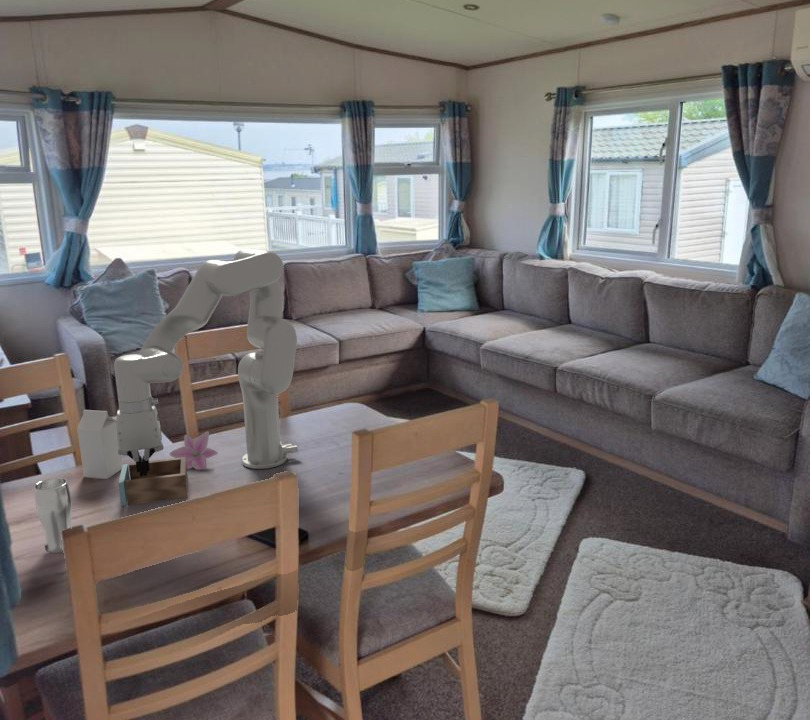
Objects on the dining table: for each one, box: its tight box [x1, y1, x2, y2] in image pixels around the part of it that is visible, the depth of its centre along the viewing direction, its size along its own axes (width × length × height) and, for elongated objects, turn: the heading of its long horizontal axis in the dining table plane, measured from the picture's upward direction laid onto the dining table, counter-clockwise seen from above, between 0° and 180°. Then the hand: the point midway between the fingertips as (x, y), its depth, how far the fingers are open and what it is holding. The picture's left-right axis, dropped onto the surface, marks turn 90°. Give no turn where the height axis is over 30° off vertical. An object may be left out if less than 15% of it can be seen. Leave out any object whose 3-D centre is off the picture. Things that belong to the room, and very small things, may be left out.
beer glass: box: [33, 477, 73, 554], centre depth 151 cm, size 7×7×15 cm
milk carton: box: [76, 409, 123, 480], centre depth 186 cm, size 7×7×19 cm
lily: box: [169, 430, 218, 470], centre depth 192 cm, size 12×12×10 cm
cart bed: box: [125, 457, 189, 506], centre depth 176 cm, size 14×12×7 cm
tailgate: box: [117, 463, 130, 507], centre depth 173 cm, size 1×12×6 cm, turn 17°
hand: (143, 473), depth 174 cm, fingers closed
